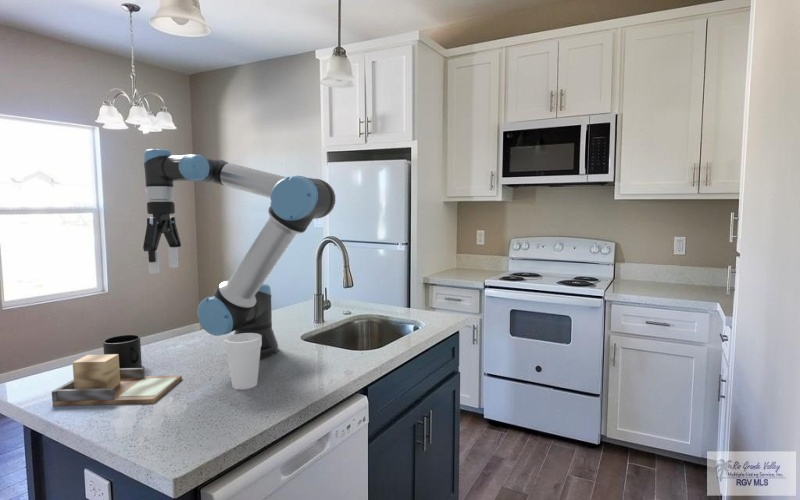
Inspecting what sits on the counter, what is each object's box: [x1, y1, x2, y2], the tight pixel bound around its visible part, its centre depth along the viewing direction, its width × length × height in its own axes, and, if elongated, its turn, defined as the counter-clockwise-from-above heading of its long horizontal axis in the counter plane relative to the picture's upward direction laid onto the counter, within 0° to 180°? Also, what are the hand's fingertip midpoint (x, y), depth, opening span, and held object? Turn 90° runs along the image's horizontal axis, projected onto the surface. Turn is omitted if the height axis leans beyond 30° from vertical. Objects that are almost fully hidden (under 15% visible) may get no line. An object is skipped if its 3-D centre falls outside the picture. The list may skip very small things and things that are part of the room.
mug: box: [102, 334, 143, 368], centre depth 136 cm, size 9×12×9 cm
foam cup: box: [224, 333, 262, 390], centre depth 123 cm, size 10×9×13 cm
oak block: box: [72, 354, 120, 389], centre depth 119 cm, size 8×6×8 cm
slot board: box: [51, 367, 183, 407], centre depth 119 cm, size 24×16×4 cm, turn 93°
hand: (164, 270), depth 142 cm, fingers open, 13 cm apart
